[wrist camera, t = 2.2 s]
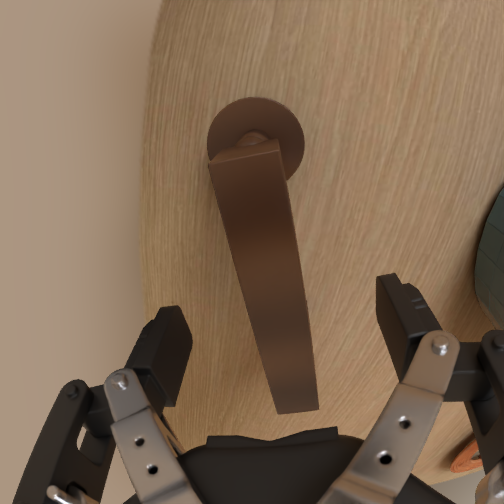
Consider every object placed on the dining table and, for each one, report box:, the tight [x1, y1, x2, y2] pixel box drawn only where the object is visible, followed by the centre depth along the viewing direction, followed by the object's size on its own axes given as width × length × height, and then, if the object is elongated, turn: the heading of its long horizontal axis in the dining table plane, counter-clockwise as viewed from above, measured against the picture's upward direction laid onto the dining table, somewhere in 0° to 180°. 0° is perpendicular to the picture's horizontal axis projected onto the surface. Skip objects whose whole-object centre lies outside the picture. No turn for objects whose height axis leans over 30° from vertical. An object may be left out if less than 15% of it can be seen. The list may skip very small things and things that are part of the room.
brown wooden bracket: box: [207, 97, 319, 414], centre depth 16 cm, size 16×5×9 cm, turn 12°
